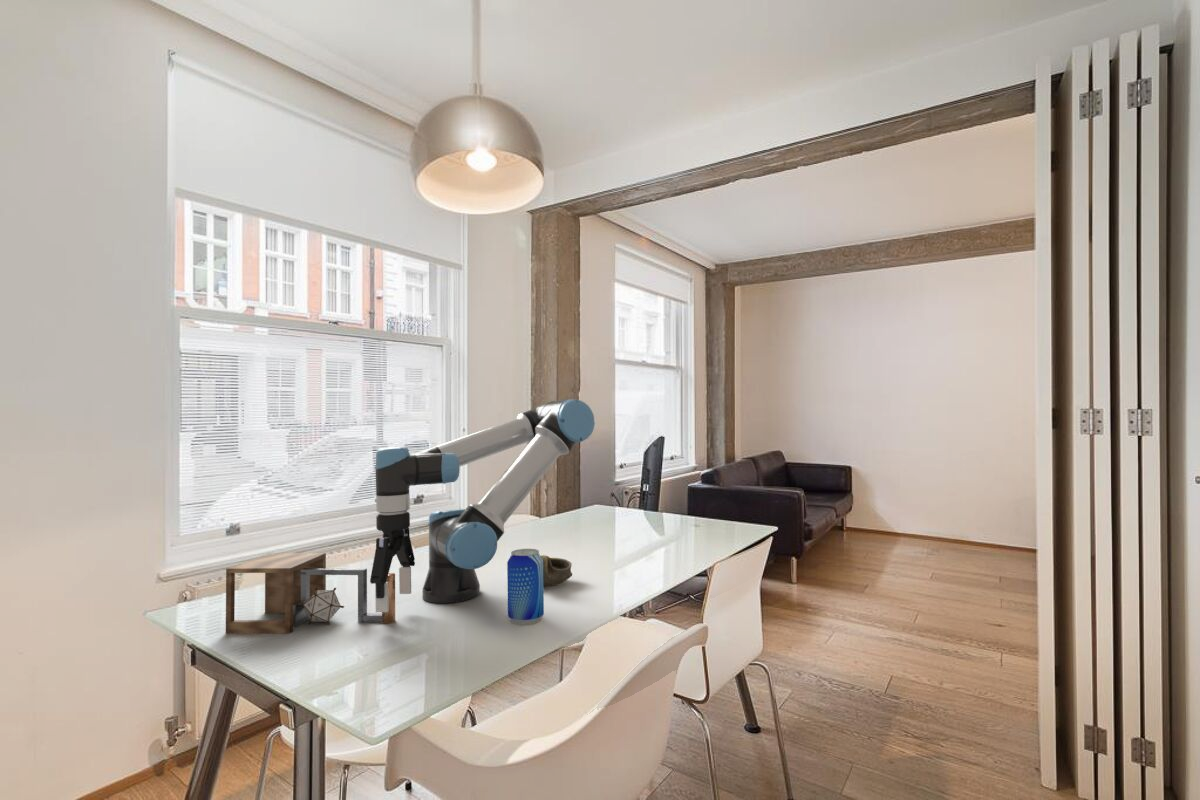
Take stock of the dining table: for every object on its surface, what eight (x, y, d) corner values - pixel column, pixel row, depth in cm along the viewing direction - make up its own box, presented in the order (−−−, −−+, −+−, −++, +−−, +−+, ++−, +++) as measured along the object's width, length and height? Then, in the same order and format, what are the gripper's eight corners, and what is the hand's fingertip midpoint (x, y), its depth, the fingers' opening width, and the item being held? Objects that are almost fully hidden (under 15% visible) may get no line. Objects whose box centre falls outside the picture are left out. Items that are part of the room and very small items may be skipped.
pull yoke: (404, 614, 142) (403, 564, 142) (384, 629, 132) (384, 575, 133) (314, 613, 144) (314, 563, 145) (288, 627, 134) (288, 574, 135)
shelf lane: (325, 611, 146) (325, 553, 146) (290, 633, 130) (290, 568, 131) (267, 611, 147) (268, 553, 147) (225, 633, 131) (226, 568, 132)
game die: (320, 641, 135) (304, 615, 130) (303, 622, 140) (287, 596, 134) (355, 615, 141) (341, 588, 135) (337, 596, 145) (323, 570, 140)
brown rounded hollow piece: (575, 577, 174) (574, 544, 174) (566, 595, 156) (565, 557, 157) (530, 577, 175) (529, 544, 175) (516, 594, 157) (516, 557, 158)
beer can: (549, 616, 139) (548, 548, 140) (534, 627, 131) (533, 556, 132) (518, 612, 142) (517, 546, 143) (501, 624, 134) (500, 554, 135)
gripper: (398, 504, 151) (399, 587, 150) (352, 521, 126) (354, 620, 125) (426, 504, 151) (428, 586, 150) (386, 521, 126) (388, 620, 125)
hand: (394, 602), depth 138 cm, fingers open, 13 cm apart
